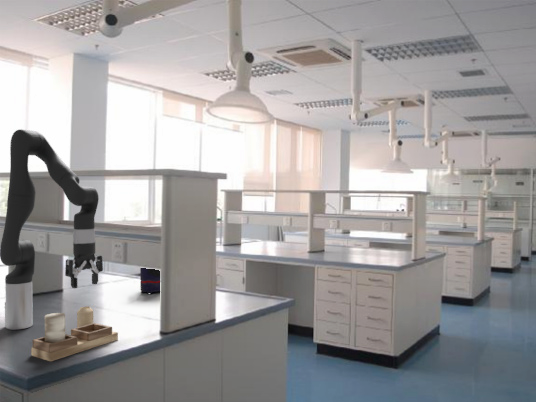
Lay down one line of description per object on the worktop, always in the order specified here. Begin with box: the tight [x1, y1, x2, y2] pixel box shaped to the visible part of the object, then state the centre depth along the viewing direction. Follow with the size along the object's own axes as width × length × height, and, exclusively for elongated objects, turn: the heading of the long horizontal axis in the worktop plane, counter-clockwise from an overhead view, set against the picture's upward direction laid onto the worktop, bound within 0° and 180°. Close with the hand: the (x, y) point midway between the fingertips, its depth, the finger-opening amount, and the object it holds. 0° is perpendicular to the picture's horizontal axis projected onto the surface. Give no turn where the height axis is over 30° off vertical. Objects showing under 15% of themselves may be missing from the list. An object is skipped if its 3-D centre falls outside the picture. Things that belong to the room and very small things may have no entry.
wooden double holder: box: [31, 312, 119, 362], centre depth 164 cm, size 10×26×12 cm, turn 148°
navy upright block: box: [139, 268, 161, 294], centre depth 254 cm, size 14×12×30 cm
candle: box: [76, 305, 94, 328], centre depth 179 cm, size 6×6×10 cm
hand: (84, 286), depth 179 cm, fingers open, 8 cm apart
